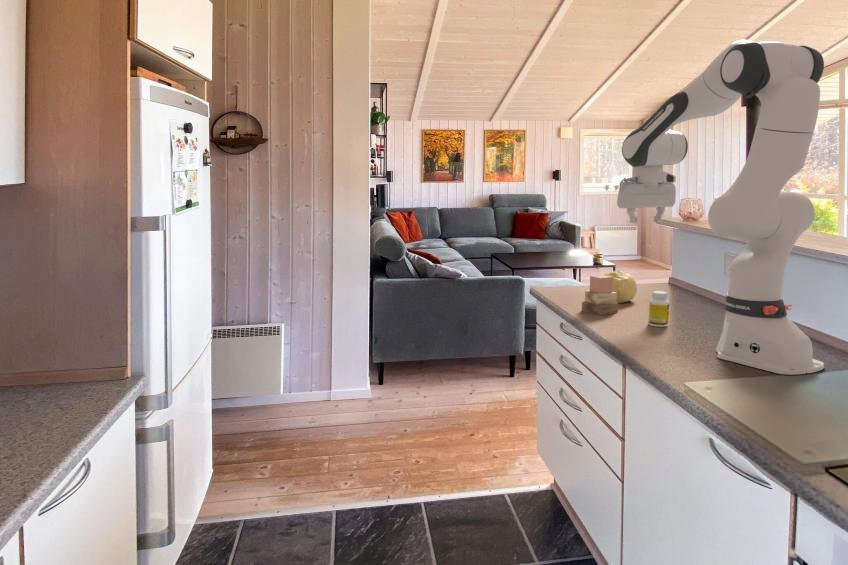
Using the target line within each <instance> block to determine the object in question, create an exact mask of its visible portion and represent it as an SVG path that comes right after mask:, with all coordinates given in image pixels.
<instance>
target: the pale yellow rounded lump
mask: <svg viewBox="0 0 848 565" xmlns="http://www.w3.org/2000/svg"><path fill="white" fill-rule="evenodd" d="M603 275H606V276H610V277H613V289H612V292H615V293H617V298H616V302H617V303H618V304H619V303H620V304H621V303H627V302H630V301H632V300H633V299H634V298H635V297H636V295H637V291H638V286H637V281H636V280H635V278H634V277H633V276H632V275H631V274H629V273H626V272H624V271H620V270H613V271H610V272H607V273H605V274H604V273H603Z"/></svg>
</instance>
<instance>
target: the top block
mask: <svg viewBox="0 0 848 565" xmlns="http://www.w3.org/2000/svg"><path fill="white" fill-rule="evenodd" d="M584 294H585V295H584V301H586V302H589V303H592V304H595V305H606V304H616V298H617V293H615V292H612V293H602V294H599V293H595V292H591V291H590V289H587V290H585V291H584Z"/></svg>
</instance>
